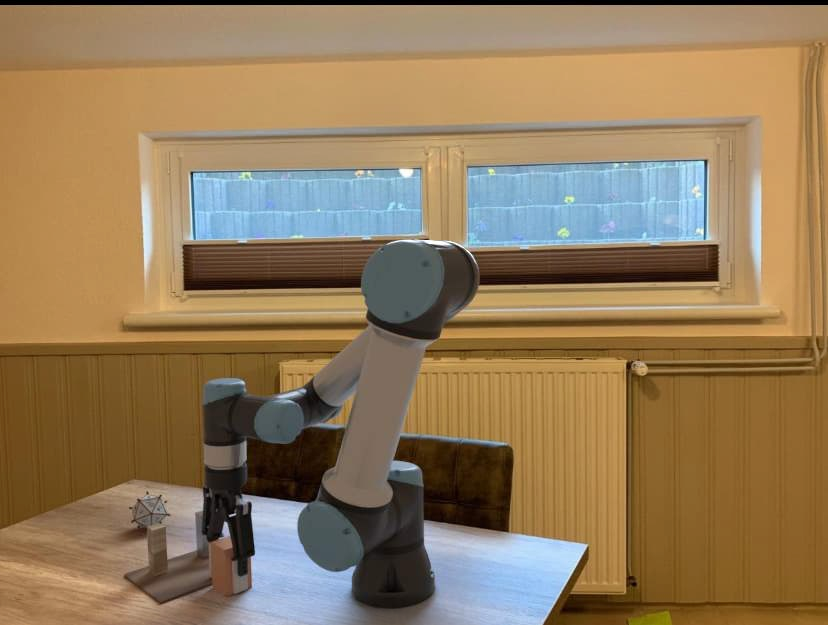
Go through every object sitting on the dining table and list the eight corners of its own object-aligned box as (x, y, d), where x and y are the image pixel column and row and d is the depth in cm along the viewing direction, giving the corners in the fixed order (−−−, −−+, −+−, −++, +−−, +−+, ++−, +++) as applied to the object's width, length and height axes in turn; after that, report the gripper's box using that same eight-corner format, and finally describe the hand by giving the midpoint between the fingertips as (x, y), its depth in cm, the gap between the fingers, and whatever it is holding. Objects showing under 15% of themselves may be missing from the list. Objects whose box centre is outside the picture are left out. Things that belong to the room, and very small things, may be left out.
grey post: (215, 555, 138) (213, 512, 138) (203, 559, 137) (201, 515, 136) (209, 551, 140) (206, 509, 140) (197, 555, 138) (195, 512, 138)
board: (250, 570, 132) (250, 568, 132) (160, 604, 119) (160, 601, 119) (210, 547, 143) (210, 545, 143) (124, 576, 131) (124, 574, 131)
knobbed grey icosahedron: (160, 542, 156) (184, 508, 155) (129, 542, 149) (154, 506, 148) (145, 515, 161) (168, 482, 160) (114, 514, 154) (138, 479, 153)
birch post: (167, 571, 131) (165, 526, 131) (154, 576, 130) (152, 530, 129) (162, 567, 133) (159, 522, 133) (149, 571, 131) (146, 526, 131)
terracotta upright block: (252, 586, 125) (250, 541, 125) (226, 596, 122) (224, 550, 121) (237, 577, 129) (235, 533, 128) (212, 587, 125) (210, 542, 125)
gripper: (274, 472, 119) (276, 595, 121) (216, 447, 134) (219, 557, 136) (236, 482, 114) (239, 611, 116) (180, 455, 129) (183, 569, 131)
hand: (228, 582), depth 126 cm, fingers open, 8 cm apart
